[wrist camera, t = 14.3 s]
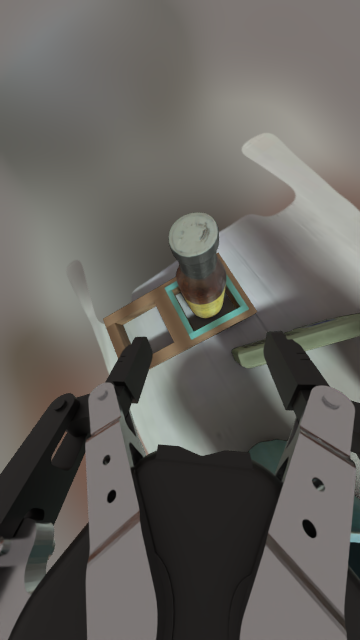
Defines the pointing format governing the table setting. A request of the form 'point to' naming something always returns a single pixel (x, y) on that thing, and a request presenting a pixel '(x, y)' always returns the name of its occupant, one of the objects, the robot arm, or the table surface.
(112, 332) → the brown double window frame
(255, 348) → the grey-green long slab
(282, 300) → the table surface
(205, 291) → the sauce bottle
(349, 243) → the table surface
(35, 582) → the robot arm
